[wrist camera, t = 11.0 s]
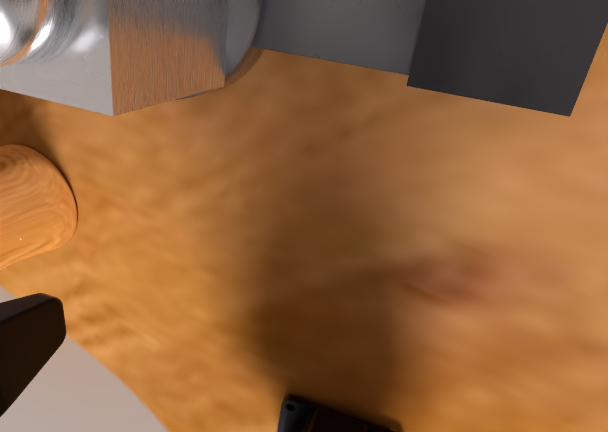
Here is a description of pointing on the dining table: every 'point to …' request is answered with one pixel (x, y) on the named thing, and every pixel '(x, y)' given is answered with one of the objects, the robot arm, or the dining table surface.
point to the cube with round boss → (112, 51)
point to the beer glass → (32, 205)
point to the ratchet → (434, 43)
